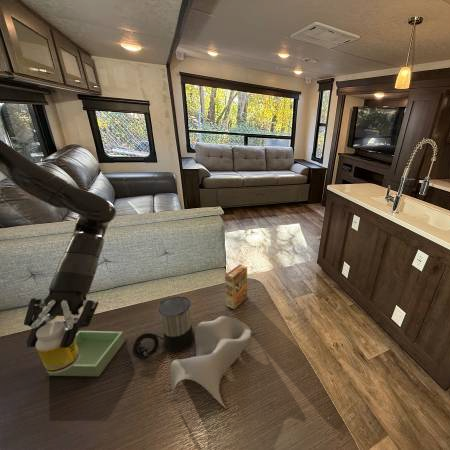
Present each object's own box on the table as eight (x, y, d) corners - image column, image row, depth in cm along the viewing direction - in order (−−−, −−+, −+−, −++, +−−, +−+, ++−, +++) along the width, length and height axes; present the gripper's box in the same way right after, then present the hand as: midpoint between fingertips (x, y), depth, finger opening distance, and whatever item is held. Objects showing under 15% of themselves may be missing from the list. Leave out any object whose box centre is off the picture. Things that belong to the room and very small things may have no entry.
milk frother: (200, 336, 85) (197, 302, 79) (159, 374, 71) (151, 336, 66) (171, 321, 90) (166, 287, 84) (127, 353, 77) (117, 317, 71)
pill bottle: (82, 363, 60) (69, 330, 56) (47, 379, 56) (30, 344, 52) (79, 347, 64) (67, 314, 60) (46, 361, 60) (30, 327, 56)
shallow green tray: (48, 375, 68) (44, 365, 67) (82, 339, 80) (79, 330, 78) (98, 376, 69) (95, 366, 68) (125, 340, 81) (122, 331, 79)
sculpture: (204, 326, 89) (202, 305, 85) (256, 334, 88) (256, 313, 84) (161, 397, 66) (156, 372, 62) (230, 409, 65) (229, 384, 61)
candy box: (234, 309, 98) (233, 277, 92) (225, 306, 99) (224, 274, 94) (247, 297, 105) (247, 266, 99) (239, 293, 107) (239, 263, 101)
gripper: (31, 269, 58) (-4, 348, 52) (96, 271, 59) (69, 349, 53) (57, 274, 65) (29, 345, 59) (114, 277, 66) (93, 346, 60)
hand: (48, 346), depth 56 cm, fingers closed on pill bottle, 6 cm apart
